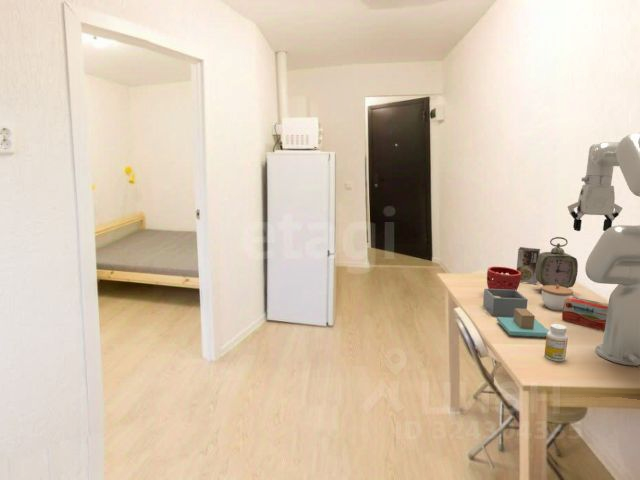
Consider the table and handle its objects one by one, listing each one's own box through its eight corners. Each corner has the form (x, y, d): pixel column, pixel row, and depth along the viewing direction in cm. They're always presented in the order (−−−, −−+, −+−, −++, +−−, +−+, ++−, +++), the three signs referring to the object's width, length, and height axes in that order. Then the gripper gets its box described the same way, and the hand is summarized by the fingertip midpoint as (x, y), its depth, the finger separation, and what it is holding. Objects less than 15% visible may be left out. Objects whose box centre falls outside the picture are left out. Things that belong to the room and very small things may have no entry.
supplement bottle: (551, 352, 128) (555, 321, 127) (569, 359, 124) (573, 327, 122) (540, 355, 126) (543, 324, 124) (557, 363, 121) (561, 331, 119)
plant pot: (486, 300, 176) (488, 272, 174) (484, 291, 188) (486, 265, 186) (520, 303, 172) (523, 275, 170) (516, 294, 185) (519, 267, 182)
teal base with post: (550, 340, 138) (553, 320, 136) (509, 338, 139) (511, 318, 137) (534, 325, 150) (536, 306, 149) (496, 323, 151) (498, 304, 150)
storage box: (525, 317, 157) (527, 299, 155) (492, 316, 158) (493, 298, 157) (514, 306, 168) (515, 289, 167) (483, 305, 170) (484, 288, 168)
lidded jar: (575, 313, 162) (578, 289, 160) (544, 311, 164) (547, 287, 162) (564, 304, 172) (567, 282, 171) (536, 302, 174) (538, 280, 173)
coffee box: (537, 281, 205) (540, 248, 202) (535, 284, 200) (539, 251, 197) (516, 278, 210) (520, 246, 207) (514, 281, 205) (518, 248, 202)
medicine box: (615, 326, 150) (618, 305, 148) (609, 333, 144) (613, 310, 142) (568, 315, 160) (570, 295, 159) (560, 320, 155) (563, 299, 153)
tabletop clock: (538, 294, 185) (544, 238, 180) (531, 288, 194) (537, 234, 189) (574, 296, 182) (581, 239, 178) (566, 290, 191) (573, 235, 187)
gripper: (577, 181, 141) (570, 232, 144) (632, 182, 140) (624, 233, 143) (566, 180, 148) (560, 228, 152) (618, 181, 147) (611, 229, 150)
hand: (591, 230), depth 147 cm, fingers open, 9 cm apart
